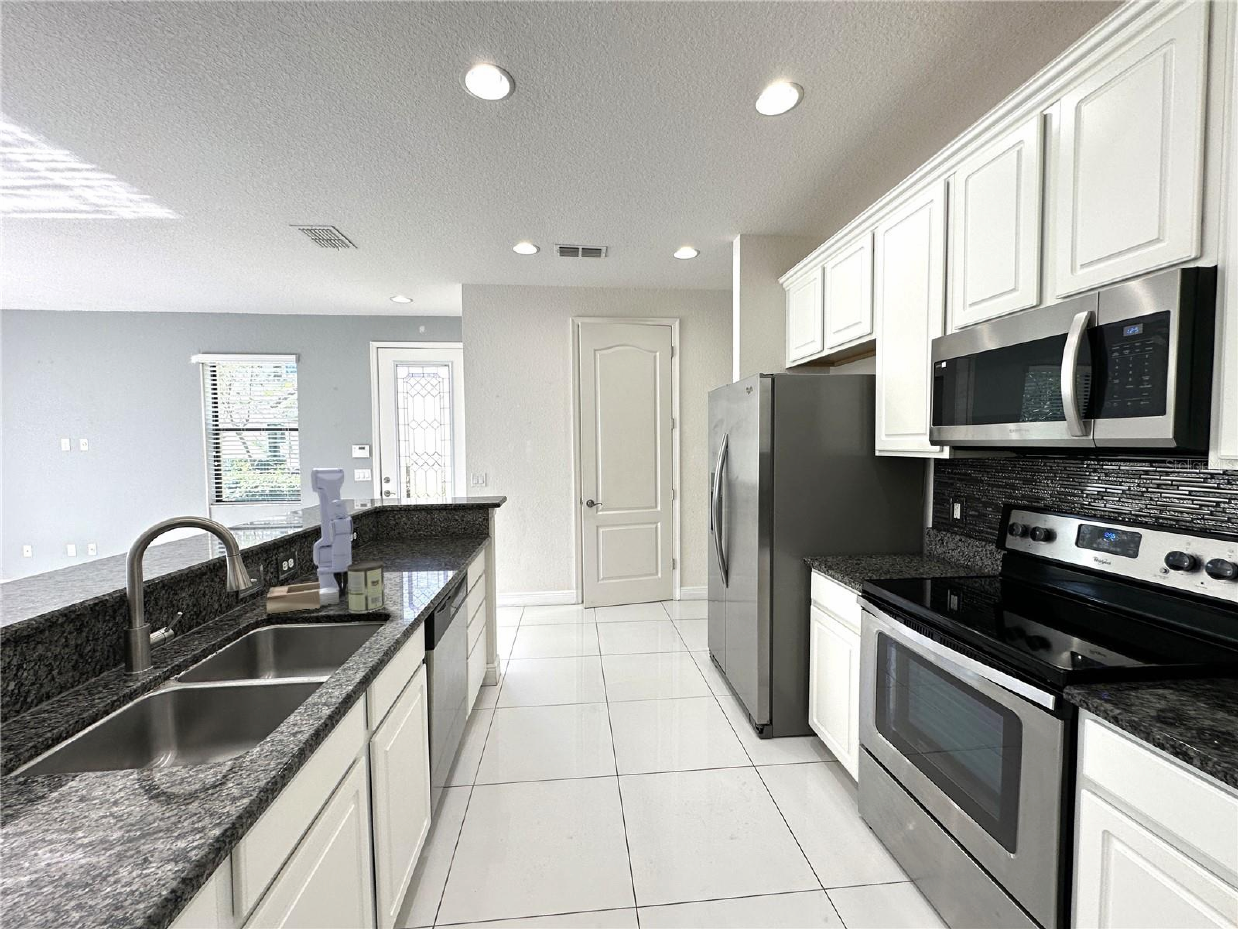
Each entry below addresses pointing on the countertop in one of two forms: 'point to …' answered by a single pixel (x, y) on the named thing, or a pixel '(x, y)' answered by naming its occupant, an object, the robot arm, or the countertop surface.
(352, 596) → the coffee can
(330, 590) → the aluminium block
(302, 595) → the wooden channel
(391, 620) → the countertop surface
